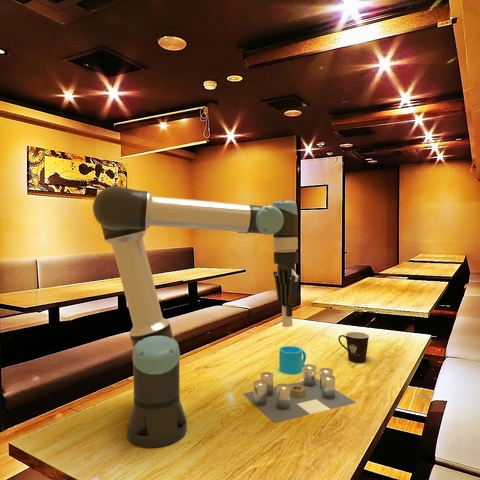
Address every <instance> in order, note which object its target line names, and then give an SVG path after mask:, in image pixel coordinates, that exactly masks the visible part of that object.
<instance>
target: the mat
mask: <svg viewBox="0 0 480 480" xmlns="http://www.w3.org/2000/svg"><path fill="white" fill-rule="evenodd" d="M288 385H290V387H291V386H294V385H297V386H303V387H304V388H305V396H304V397H302V398H294V397H291V395H290V408H289V409H287V410H280V409H278V408H277V407H276V386H273V395H271V396H267V404H266V405H264V406H257V405H254V403H253V391H248V392H244V393H242V395H243V396H244V397H245V398H247V399H248V400H249V401H250V403H252V404H253V405H254V406H255V407H256V408H257V409H258V410H259V411H261V412H262V414H264V416H266V418H268V419H269V420H270V421H271V422H272V423H274V424H278V423H280V422H283V421H284V422H285V421H289V420H293V419H297V418H301V417H305V416H309V415H313V414H316V413H317V414H318V413H321V412H325V411H329V410H333V409H338V408H341V407H345V406H349V405H355V404H357V401H355V400H353V399H351V398H350V397H348V396H347V395H345V394H343V393H342V392H340V391H338V390H337V389H335V398H334V399H325V398H323V397H322V390H321V389H320V379H318V378H316V385H315V386H313V387H307V386H305V385H304V384H303V381H299V382H293V383H289V384H288Z"/></svg>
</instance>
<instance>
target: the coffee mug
mask: <svg viewBox="0 0 480 480" xmlns="http://www.w3.org/2000/svg"><path fill="white" fill-rule="evenodd" d="M342 337H343V338H345V340H346V346H347V347H346V346H345V345H344V344H343V343H342V341H341V338H342ZM369 337H370V335H369V334H367V333H365V332H359V331H357V332H356V331H351V332H346V333H345V335H344V334H342V335H339V336H338V339H337V340H338V342H339V344H340V345H341V346H342V347H343V348H344V349H345V350H346V351H347V356H348V357H347V358H348V361H349V362H350V363H355V364H364V363H366V360H367V353H368V352H367V351H368V346H369Z"/></svg>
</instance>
